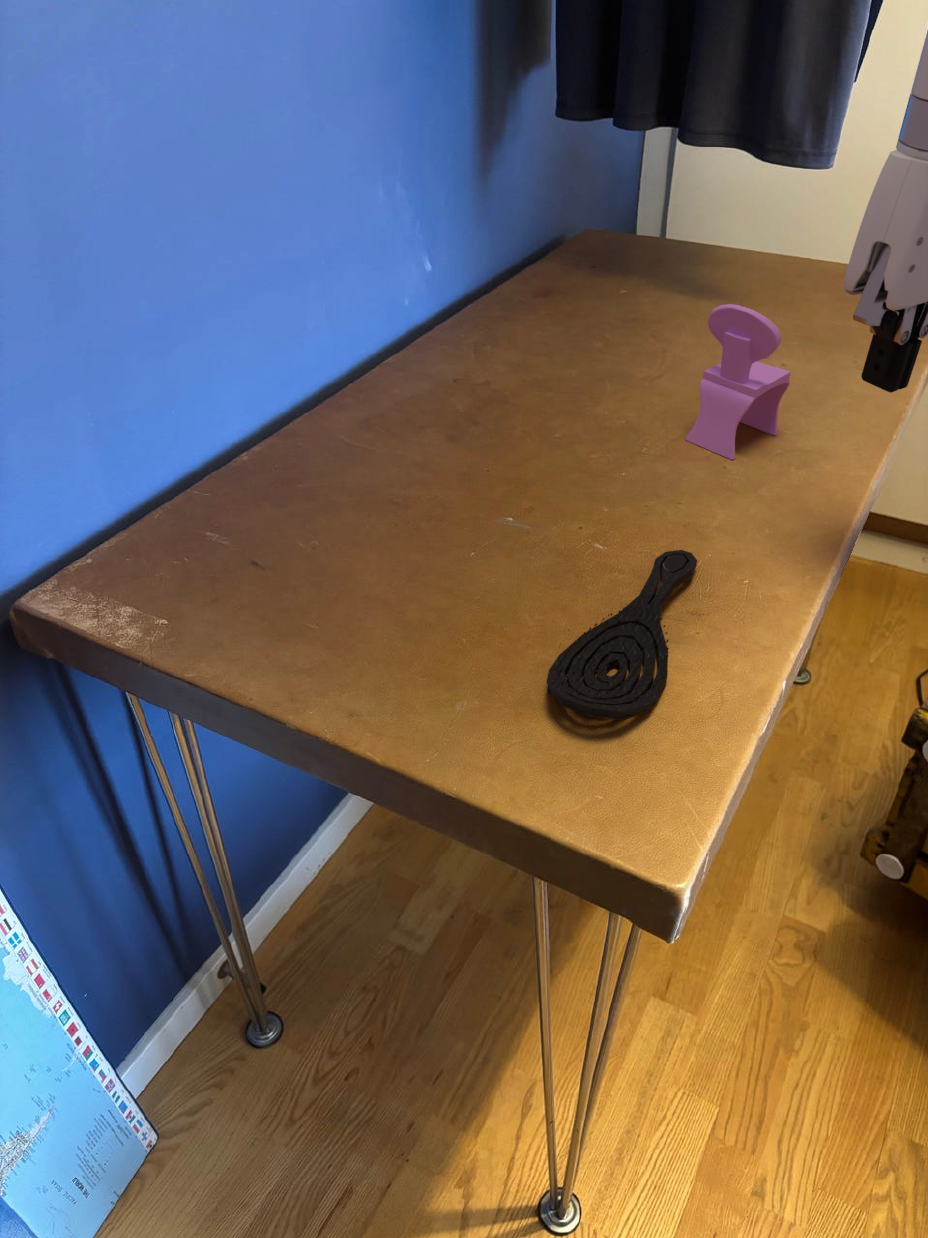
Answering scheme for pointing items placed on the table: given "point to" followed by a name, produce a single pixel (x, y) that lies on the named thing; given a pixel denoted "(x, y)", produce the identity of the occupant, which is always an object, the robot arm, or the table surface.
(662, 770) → the table surface
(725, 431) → the chair
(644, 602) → the hairbrush
